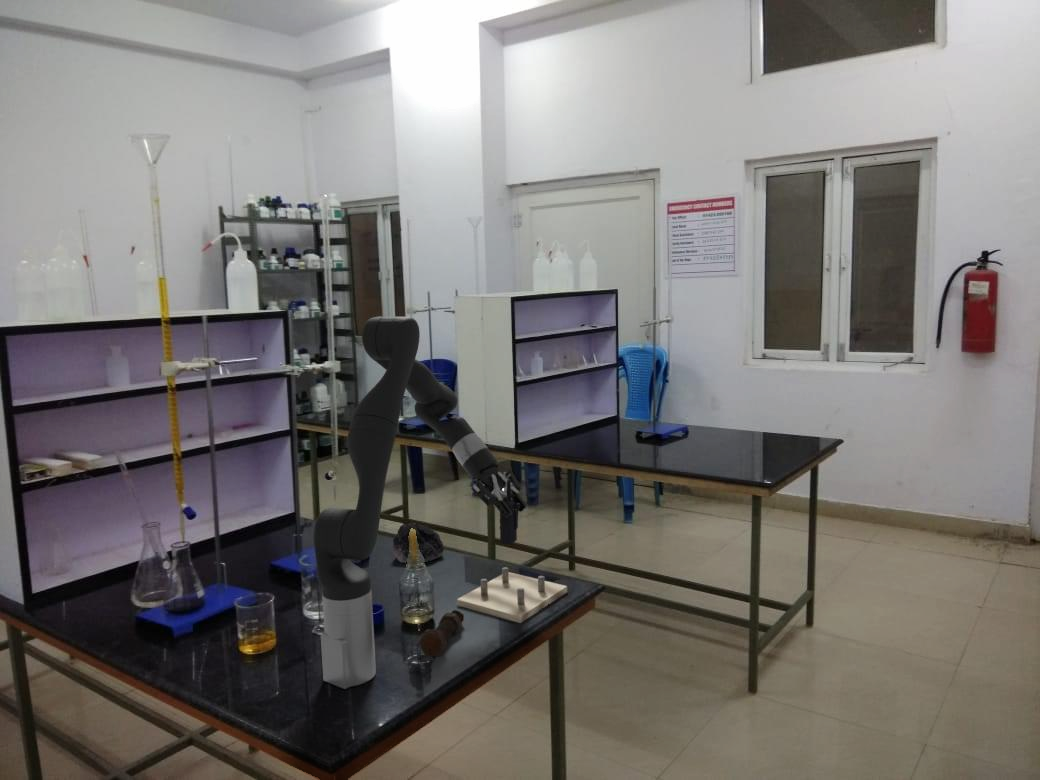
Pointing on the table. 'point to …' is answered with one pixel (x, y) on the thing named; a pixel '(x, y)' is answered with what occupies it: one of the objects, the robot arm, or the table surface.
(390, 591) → the table surface
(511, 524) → the two-way radio
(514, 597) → the peg cradle
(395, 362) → the robot arm
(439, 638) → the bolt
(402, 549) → the crystal cluster
